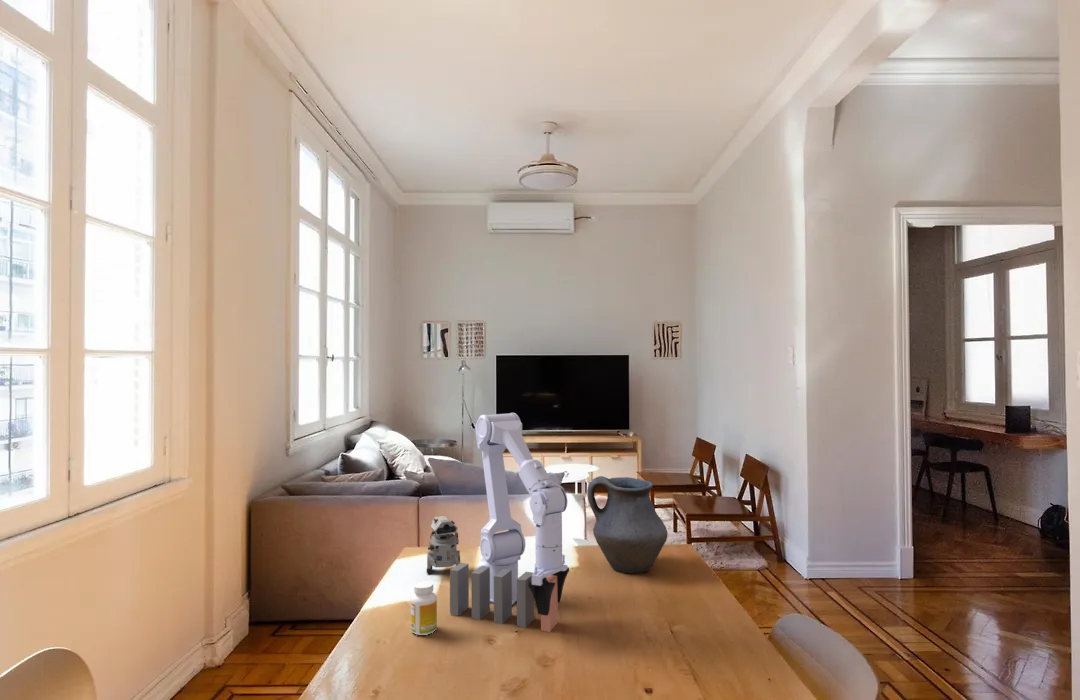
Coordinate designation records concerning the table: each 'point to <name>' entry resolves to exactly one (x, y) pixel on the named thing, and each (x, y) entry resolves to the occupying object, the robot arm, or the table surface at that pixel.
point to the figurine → (442, 544)
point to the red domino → (551, 608)
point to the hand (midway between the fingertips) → (549, 607)
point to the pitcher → (627, 524)
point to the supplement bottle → (423, 609)
